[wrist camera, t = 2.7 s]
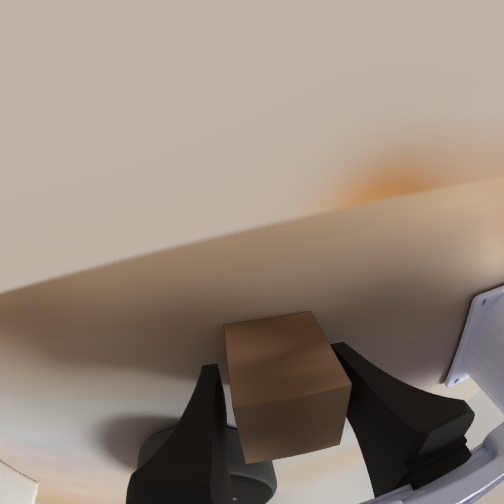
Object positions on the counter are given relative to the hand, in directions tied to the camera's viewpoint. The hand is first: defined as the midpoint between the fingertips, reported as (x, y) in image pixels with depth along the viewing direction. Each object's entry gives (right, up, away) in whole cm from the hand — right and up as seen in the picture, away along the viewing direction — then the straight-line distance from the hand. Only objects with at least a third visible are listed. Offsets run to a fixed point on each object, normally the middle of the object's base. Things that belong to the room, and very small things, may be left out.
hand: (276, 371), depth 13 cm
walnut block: (0, +1, +1) cm, 2 cm away
